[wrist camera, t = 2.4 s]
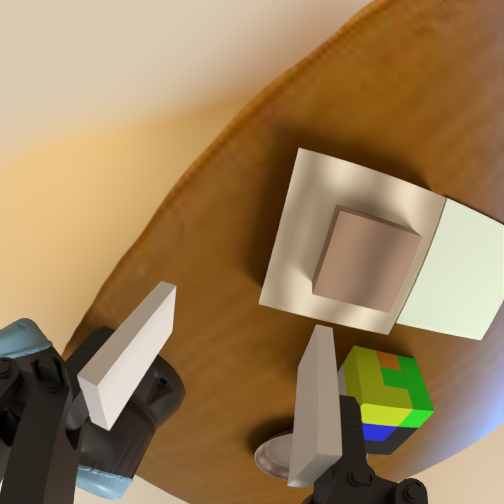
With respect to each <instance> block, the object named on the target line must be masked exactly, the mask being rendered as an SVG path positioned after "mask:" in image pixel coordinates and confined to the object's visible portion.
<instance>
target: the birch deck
mask: <svg viewBox="0 0 504 504" xmlns="http://www.w3.org/2000/svg"><path fill="white" fill-rule="evenodd" d="M445 199H446V198H445V197H443V196H441V195H438V194H436V193H434V192H432V191H429V190H427V189H424V188H422V187H419V186H417V185H414V184H412V183H409V182H406V181H404V180H401V179H398V178H396V177H393V176H390V175H387V174H385V173H382V172H379V171H376V170H373V169H370V168H367V167H364V166H361V165H358V164H355V163H352V162H348V161H345V160H342V159H339V158H335V157H332V156H328V155H325V154H321V153H318V152H314V151H311V150H307V149H303V148H299V149H298V153H297V157H296V161H295V165H294V170H293V174H292V178H291V182H290V185H289V189H288V193H287V197H286V201H285V205H284V209H283V213H282V217H281V221H280V225H279V229H278V232H277V236H276V240H275V244H274V248H273V251H272V255H271V259H270V263H269V266H268V270H267V274H266V278H265V281H264V285H263V289H262V292H261V296H260V300H259V303H258V304H260V305H264V306H268V307H272V308H275V309H279V310H283V311H287V312H291V313H295V314H299V315H303V316H307V317H311V318H315V319H319V320H323V321H328V322H332V323H336V324H340V325H345V326H349V327H354V328H358V329H363V330H367V331H372V332H376V333H381V334H386V335H388V334H389V332H390V330H391V328H392V327H393V325H394V323H395V321H396V319H397V317H398V315H399V313H400V311H401V309H402V307H403V305H404V303H405V301H406V299H407V296H408V294H409V292H410V290H411V288H412V286H413V283H414V281H415V279H416V277H417V274H418V272H419V270H420V267H421V265H422V263H423V260H424V258H425V255H426V253H427V250H428V248H429V245H430V242H431V240H432V237H433V234H434V232H435V229H436V226H437V223H438V220H439V218H440V215H441V212H442V209H443V205H444V202H445ZM336 204H337V205H340V206H344V207H347V208H350V209H354V210H357V211H360V212H363V213H367V214H370V215H373V216H376V217H379V218H382V219H385V220H388V221H391V222H394V223H397V224H400V225H403V226H406V227H409V228H412V229H414V230H415V231H416V232H417V233H418V234H419V235H420V236H422V238H421V241H420V244H419V246H418V249H417V251H416V254H415V256H414V259H413V261H412V264H411V266H410V269H409V271H408V273H407V276H406V278H405V280H404V283H403V285H402V287H401V289H400V291H399V294H398V296H397V298H396V300H395V302H394V304H393V306H392V308H391V310H390V313H386V312H382V311H378V310H374V309H370V308H365V307H361V306H357V305H353V304H349V303H345V302H341V301H337V300H333V299H329V298H325V297H321V296H317V295H313V294H312V280H313V277H314V274H315V271H316V268H317V265H318V262H319V259H320V256H321V253H322V249H323V246H324V243H325V240H326V237H327V234H328V231H329V227H330V224H331V221H332V217H333V214H334V211H335V207H336Z"/></svg>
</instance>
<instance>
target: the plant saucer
mask: <svg viewBox="0 0 504 504" xmlns="http://www.w3.org/2000/svg"><path fill="white" fill-rule="evenodd" d="M293 429H294V428H293ZM293 429H290V430H287V431H284V432H281V433H279V434H276V435H274V436H273V437H271V438H269V439H268V440H266V441H265V442H264V443H263V444H261V445H260V446H259V447H258V449H257V450H256V452H255V455H254V459H255V462H256V464H257V466H258V467H259V468H260V469H262V470H263V471H264V472H266V473H267V474H269V475H272V476H274V477H277V478H280V479H283V480H288V478H289V469H290V460H291V450H292V440H293ZM367 457H368V454H366V459H367Z"/></svg>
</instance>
